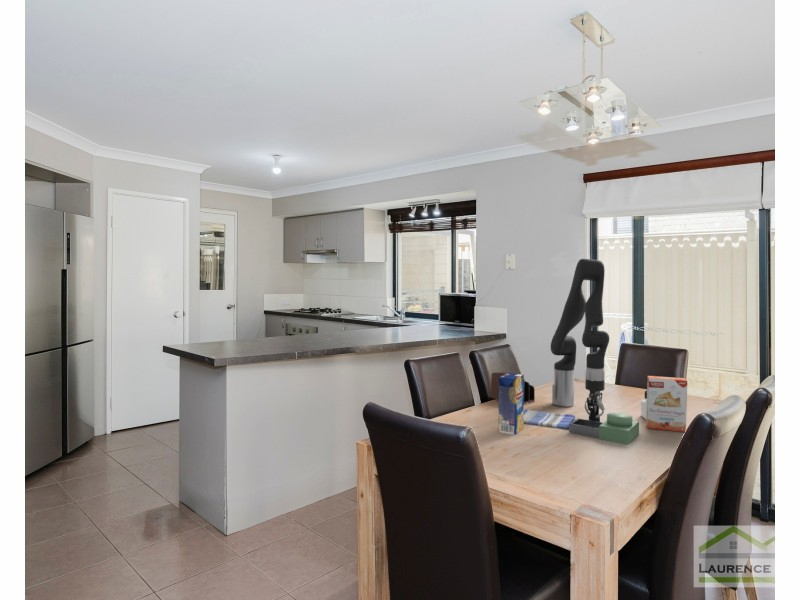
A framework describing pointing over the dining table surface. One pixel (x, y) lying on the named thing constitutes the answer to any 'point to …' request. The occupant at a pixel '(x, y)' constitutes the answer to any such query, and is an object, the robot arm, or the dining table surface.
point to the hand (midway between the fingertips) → (594, 418)
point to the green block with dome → (619, 428)
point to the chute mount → (585, 427)
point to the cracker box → (666, 403)
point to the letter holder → (528, 389)
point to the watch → (596, 415)
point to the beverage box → (511, 403)
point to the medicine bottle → (644, 406)
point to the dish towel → (547, 419)
